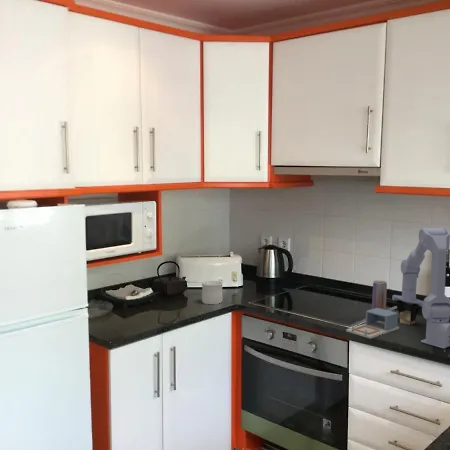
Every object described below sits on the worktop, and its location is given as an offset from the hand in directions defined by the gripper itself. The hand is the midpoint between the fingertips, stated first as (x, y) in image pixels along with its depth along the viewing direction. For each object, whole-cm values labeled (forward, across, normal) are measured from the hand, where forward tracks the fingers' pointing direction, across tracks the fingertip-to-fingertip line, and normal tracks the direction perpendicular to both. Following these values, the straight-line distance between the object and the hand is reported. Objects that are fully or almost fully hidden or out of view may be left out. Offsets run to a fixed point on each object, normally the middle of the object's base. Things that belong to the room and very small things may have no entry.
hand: (407, 319), depth 233 cm
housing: (0, +3, +15) cm, 15 cm away
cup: (+2, +77, +45) cm, 89 cm away
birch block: (+2, 0, 0) cm, 2 cm away
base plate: (+1, +3, +20) cm, 21 cm away
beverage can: (+2, +15, -1) cm, 15 cm away
